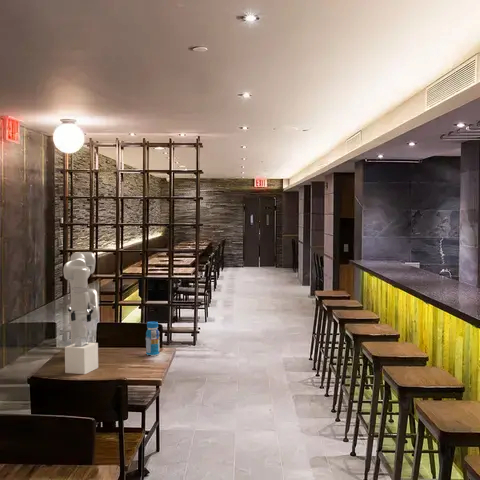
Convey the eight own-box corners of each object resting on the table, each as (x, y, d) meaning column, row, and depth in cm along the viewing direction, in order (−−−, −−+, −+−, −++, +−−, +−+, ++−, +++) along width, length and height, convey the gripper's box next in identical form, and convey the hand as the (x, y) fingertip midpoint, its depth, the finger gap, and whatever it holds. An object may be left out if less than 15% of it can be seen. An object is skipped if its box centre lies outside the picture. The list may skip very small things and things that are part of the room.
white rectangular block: (75, 356, 320) (74, 338, 320) (80, 354, 326) (80, 336, 326) (81, 357, 319) (81, 339, 319) (87, 354, 325) (87, 336, 324)
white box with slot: (65, 372, 318) (64, 347, 317) (79, 366, 331) (79, 341, 331) (84, 374, 314) (84, 348, 314) (98, 367, 328) (97, 343, 327)
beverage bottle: (143, 355, 356) (142, 323, 355) (150, 352, 364) (149, 320, 363) (155, 356, 353) (155, 323, 352) (162, 353, 361) (161, 321, 360)
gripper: (62, 290, 320) (63, 321, 321) (90, 291, 315) (91, 323, 316) (70, 288, 327) (71, 319, 328) (98, 289, 322) (98, 320, 323)
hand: (81, 321), depth 322 cm, fingers open, 9 cm apart
